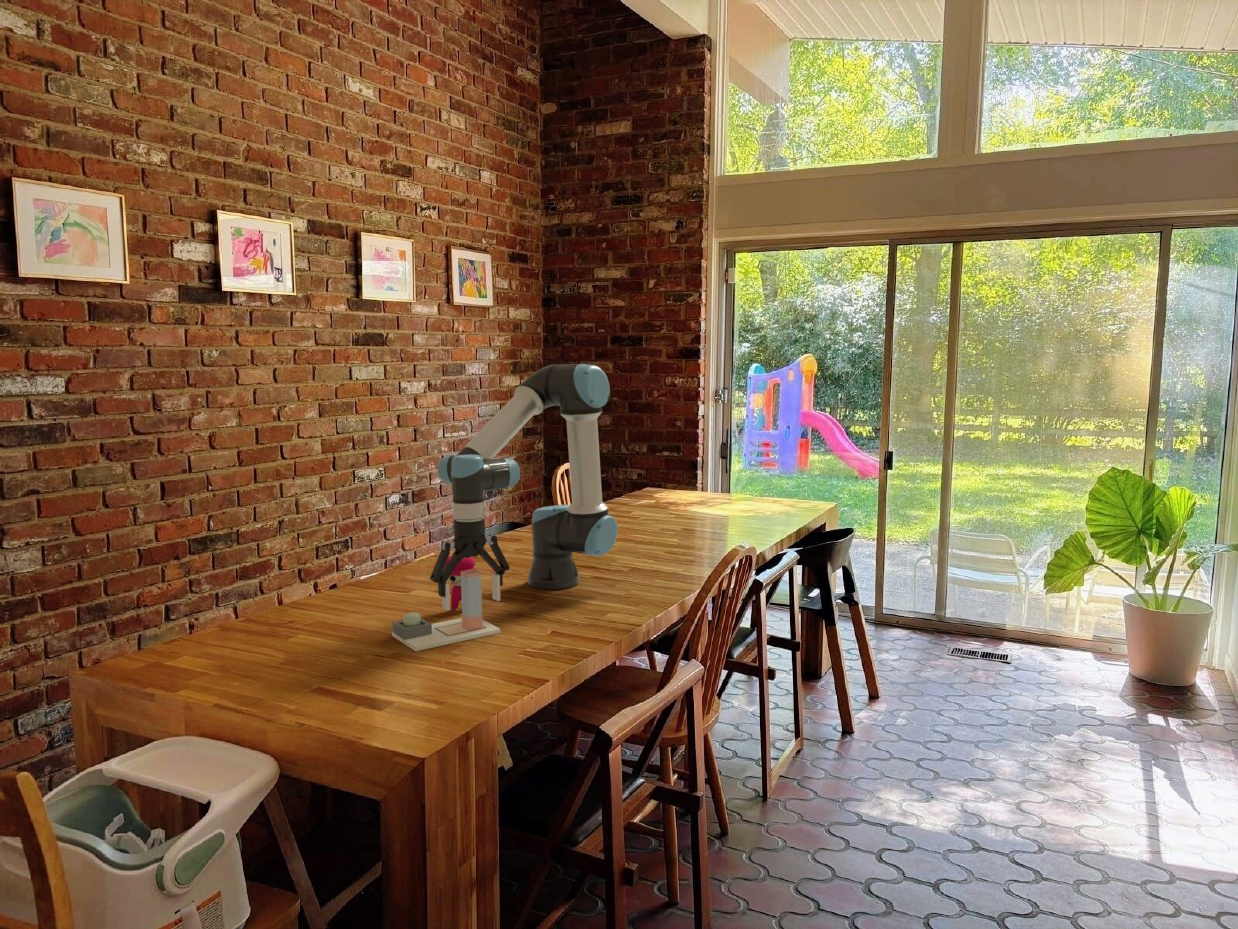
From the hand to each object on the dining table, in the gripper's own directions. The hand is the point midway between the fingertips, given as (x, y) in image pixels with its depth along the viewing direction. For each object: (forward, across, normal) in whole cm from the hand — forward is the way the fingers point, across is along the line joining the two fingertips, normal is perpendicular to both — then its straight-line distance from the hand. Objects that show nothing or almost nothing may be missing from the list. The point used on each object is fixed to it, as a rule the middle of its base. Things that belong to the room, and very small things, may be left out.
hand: (471, 604), depth 216 cm
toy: (+7, -6, -19) cm, 21 cm away
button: (+4, +13, -5) cm, 15 cm away
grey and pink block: (+6, 0, 0) cm, 6 cm away
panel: (+7, +6, -2) cm, 9 cm away
